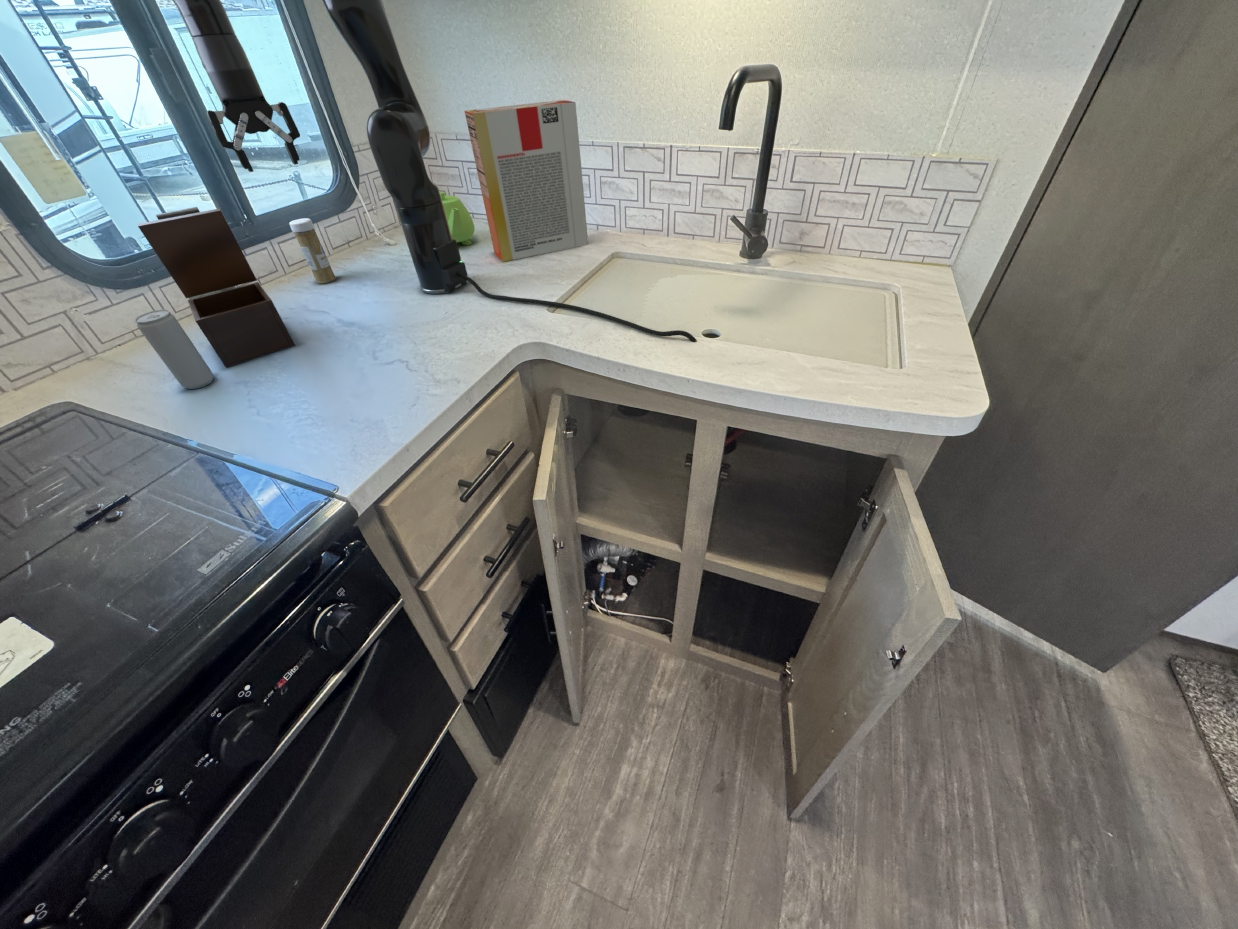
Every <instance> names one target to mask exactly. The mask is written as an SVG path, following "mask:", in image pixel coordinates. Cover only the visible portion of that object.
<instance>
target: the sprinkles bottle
mask: <svg viewBox="0 0 1238 929" xmlns="http://www.w3.org/2000/svg"><path fill="white" fill-rule="evenodd" d="M288 224H289V228H290V230H291V232H292V233H293V234H294V236H295V238H296V240H297V243H298V245H299V248H300V250H301V253H302V254H303V256H304V259H305V260H306V263H307V265H308V267H309V269H310V270H311V272H312V274H313V277H314V279H315V282H316V284H321V285H323V284H329V283H332V282H334V281H335V280H336V279H337V277H336V274H335V273H334V271H333V269H332V266H331V263H330V260H329V259H328V257H327V255H326V252H325V249H324V248H323V245H322V244H321V241H320V238H319V237H318V235H317V232H316V230H315V225H314V223H313V220H312V219H311V218H307V217H305V218H298V219H293V220H291V221H289V223H288Z"/></svg>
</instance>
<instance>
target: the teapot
mask: <svg viewBox="0 0 1238 929" xmlns="http://www.w3.org/2000/svg"><path fill="white" fill-rule="evenodd" d="M439 191H440V190H439ZM440 195H441V199H442V202H443V206H444V210H445V214H446V218H447V222H448V225H449V229H450V233H451V237H452V239H455V240H456V242H457V243H461V244H462V246H469V245H471V244H472V241H471V240H470V239H472V238H473V236H474V234H475V229H476V228H475V224H474V221H473V218H472V215H471V213H470V212H469V210H468V208H467V207H466V206H465V204H464V203H463V202H462V200H461V199H460V198H459V197H458V196H455V195H451V194H449V195H448V194H447V195H446V192H445V191H443V190H442V191H440Z"/></svg>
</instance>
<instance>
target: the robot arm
mask: <svg viewBox="0 0 1238 929" xmlns="http://www.w3.org/2000/svg"><path fill="white" fill-rule="evenodd" d="M171 1H172V3H174V6H176V9H177V10H178V12H179V15H180V16H181V20H182V21H183V23H184V25H185V27H186V29H187V32H188V33H189V35H190V37H191V39H192V41H193V45H194V47H195V51H196V53H197V55H198V57H199V59H200V62H201V65H202V68H203V69H204V71H205V72H206V75H207V76H208V79H209V80H210V83H211V85H212V86H213V89H214V91H215V93H216V95H217V97H218V99H219V102H220V104H221V107H222V110H211V109H210V110H207V111H206V115H207V118H208V120H209V122H210V125H211V127H212V130H213V131H214V132H213V133H214V134H215V137H216V138H217V140H218V143H219V145H220V146H221V147H222V148H223V149H224V148H225V149H229V150H232V151H234V153H235V155H236V157H237V159H238V161H239V163H240V165H241V167H242V168H243V169H244V170H247V171H248V172H249V173H252V172H254V168H253V167H252V164H251V162H250V160H249V158H248V156H247V154H246V152H245V150H244V149H243V148H242V147H243V142H244V140H245V135H246V134H248V135H254V134H256V133H268V131H272V132H273V133H274V134H275V135H277V136H278V137H279V138H280V139H281V140H283V141H284V146H285V149H286V152H287V154H288V155H289V158H290V161H291V163H292V165H294V166H295V165H298V164H299V161H300V156H299V154H298V151H297V149H296V146H295V144H294V141H295V140H296V139H299V138H300V137H301V133H300V131H299V130H298V127H297V125H296V122H295V121H294V118H293V115H292V114H291V112H290V110H289V107H288V105H287V104H286V103H285V102H284V101H283V102H282V101H279V102H277V103H274V104H270V103H269V102H268V101H267V99H266V97H265V95H264V93H263V90H262V88H261V85H260V84H259V81H258V79H257V76H256V74H255V72H254V70H253V67H252V64H251V63H250V61H249V58H248V56H247V54H246V51H245V49H244V48H243V46H242V43H241V42H240V40H239V38H238V36H237V35H236V32H235V30H234V27H233V24H232V23H231V21H230V18H229V16H228V14H227V11H226V9H225V6H224V5H223V2H222V1H221V0H171ZM321 2H322V4H323V6H324V9H325V11H326V13H327V15H328V17H329V19H330V21H331V22H332V24H333V25H334V27H335V29H336V31H337V32H338V34H339V35H340V36H341V38H342V40H343V41H344V43H345V44H346V45H347V47H348V48H349V50H350V51H351V53H352V54H353V56H354V57H355V58H356V60H357V61H358V63H359V65H360V66H361V68H362V70H363V72H364V74H365V76H366V77H367V80H368V83H369V85H370V88H371V90H372V93H373V95H374V96H373V97H374V98H375V101H376V104H377V107H378V108H376V109H375V110H373V111H372V112H371V113H370V114H369V116H368V117H367V121H366V136H367V140H368V141H367V142H368V144H369V148H370V151H371V154H372V156H373V159H374V162H375V165H376V167H377V170H378V172H379V176H380V178H381V180H382V184H383V186H384V188H385V189H386V191H387V192H388V194H389V196H390V197H391V198H392V201H393V204H394V206H395V210H396V213H397V216H398V219H399V223H400V226H401V229H402V233H403V235H404V238H405V241H406V245H407V248H408V251H409V255H410V257H411V260H412V263H413V267H414V269H415V273H416V276H417V279H418V282H419V286H420V289H421V291H422V292H423V293H425V294H430V295H432V294H433V295H436V294H437V295H438V294H452V293H453V292H455V291H457V290H458V289H460V288H462V287H463V286H465V285H467V284H468V283H469V284H471V285H472V286H473V287H474V288H475V289H476V290H477V292H479V294H481V295H482V296H484V297H486V298H488V299H492V300H500V301H508V302H513V303H523V304H525V303H526V304H534V305H542V306H549V307H554V308H561V309H567V310H571V311H576V312H580V313H585V314H588V315H591V316H594V317H598V318H601V319H606V320H608V321H611V322H614V323H618V324H619V325H624V326H627V327H629V328H632V329H635V330H638V331H640V332H642V333H646V334H649V335H651V336H652V335H653V336H656V337H675V336H681V337H684V338H687V339H688V340H689V341H690V342H691V343H697V342H698V340H697V339H696V338H695V336H694V335H693V334H691V333H689V331H685V330H681V329H680V330H679V329H678V330H668V331H663V330H662V331H661V330H656V329H653V328H648V327H646V326H642V325H639V324H637V323H634V322H631V321H628V320H625V319H622V318H619V317H617V316H613V315H611V314H607V313H603V312H601V311H597V310H593V309H591V308H585V307H581V306H577V305H573V304H567V303H562V302H557V301H550V300H542V299H536V298H526V297H525V298H524V297H514V296H507V295H499V294H491V293H489V292H487V291H485V290H484V289H482V288H481V286H480V285H479V284H478V283H477V282H476V281H475V280H474V279H473V278H471V277H470V276H469V274H468V272H467V271H468V270H467V266H466V263H465V262H463V261H462V258H461V254H460V250H459V246H458V242H456V240H455V239H452V237H451V233H450V229H449V225H448V222H447V218H446V214H445V210H444V206H443V202H442V199H441V195H440V187H439V186H438V184H437V183H436V182H434V181H432V179H431V178H430V176H429V175H428V172H427V169H426V165H425V163H424V158H423V157H425V156H426V155H427V154H428V152H429V150H430V147H431V143H432V142H431V141H432V140H431V139H432V138H431V132H430V131H431V130H430V127H429V125H428V122H427V119H426V117H425V114H424V112H423V110H422V107H421V105H420V103H419V100H418V98H417V96H416V93H415V91H414V89H413V86H412V84H411V82H410V79H409V76H408V74H407V71H406V69H405V67H404V63H403V61H402V58H401V55H400V51H399V48H398V45H397V42H396V39H395V36H394V33H393V30H392V28H391V24H390V22H389V19H388V15H387V13H386V10H385V6H384V3H383V0H321ZM274 112H275V113H276V114H277V115H278V116H279V117H282V118H283V120H284V123H285V124H286V127H287V129H288V133H287V132H285V131H284V130H283V129H282V128H281V127H280V126H279V125H277V124H276V123H275V122H274V121H273V116H274ZM224 118H226V119H227V120H228V121H229V122H231V123H232V124H233V125H234V130H233V137H232V141H229V140H228V139H227V137H226V134H225V132H224V130H223V127H222V125H223V124H224Z"/></svg>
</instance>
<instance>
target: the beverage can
mask: <svg viewBox="0 0 1238 929" xmlns="http://www.w3.org/2000/svg"><path fill="white" fill-rule="evenodd" d="M134 323H135V324H136V327H137V328H138V329H139V331H140V333H141V334H142V335H143V337H144V338H145V339H146V340H147V342H148V344H150V346H151V347H152V348H153V350H154V351H155V352H156V354H157V355H158V356H159V358H160V360H162V362H163V363H164V364H165V366H166V367H167V369H168V370H169V372H170V373H171V374H172V375H173V377H174V378H175V380H176V381H177V382H178V384H179V385H180V386H181V387H182V388H184V389H188V390H196V389H200V388H204V387H207V386H208V385H210V384H212V383H213V381H214V378H215V375H214V373H213V371H212V370H211V369H210V367H209V366H208V364H207V362H206V361H205V360H204V358H203V356H202V355H201V354H200V352H199V351H198V349H197V347H196V346H195V345H194V343H193V342H192V340H191V338H190V337H189V336H188V334H187V333H186V331H185V329H184V328H183V327H182V325H181V324H180V322H179V321H178V320H177V317H176V316H175V315H174V314H173V313H171V311H170V310H169V309H157V310H151V311H148V312H145V313H142V314H140V315H139V316H137V317H136V318H135V319H134Z"/></svg>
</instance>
